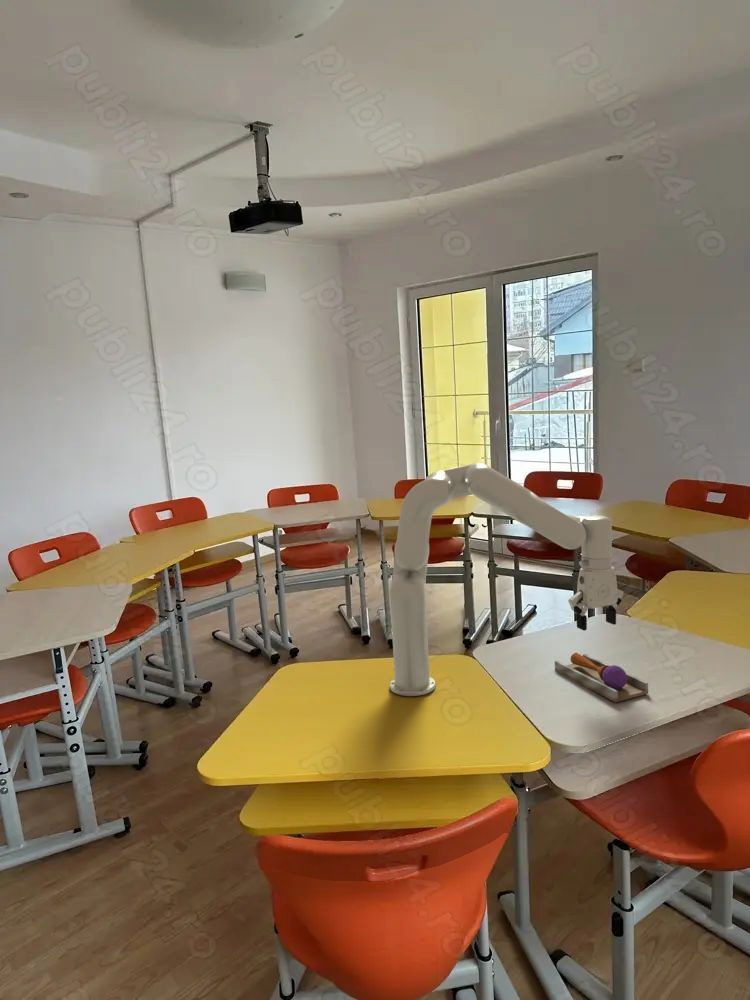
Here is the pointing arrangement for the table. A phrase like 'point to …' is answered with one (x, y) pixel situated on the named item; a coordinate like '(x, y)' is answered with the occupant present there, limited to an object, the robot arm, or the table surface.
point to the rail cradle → (596, 684)
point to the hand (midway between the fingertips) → (596, 626)
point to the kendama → (603, 671)
